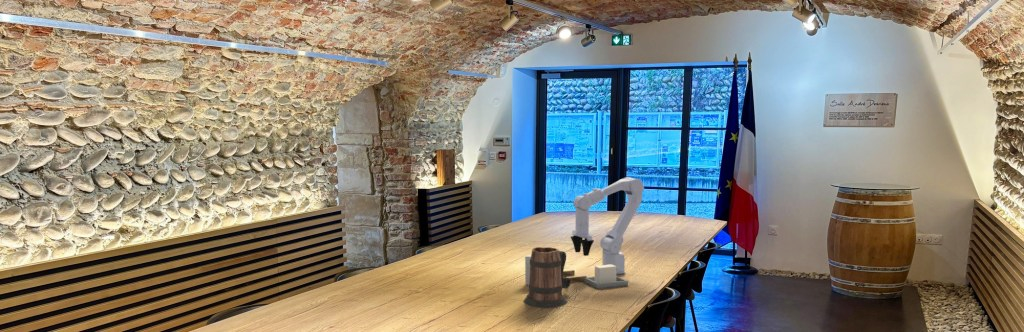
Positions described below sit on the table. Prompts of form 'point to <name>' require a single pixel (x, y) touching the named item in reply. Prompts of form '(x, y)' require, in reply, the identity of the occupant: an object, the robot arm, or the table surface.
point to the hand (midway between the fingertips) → (581, 253)
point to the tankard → (547, 278)
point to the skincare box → (527, 269)
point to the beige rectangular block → (605, 274)
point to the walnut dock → (573, 279)
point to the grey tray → (618, 283)
